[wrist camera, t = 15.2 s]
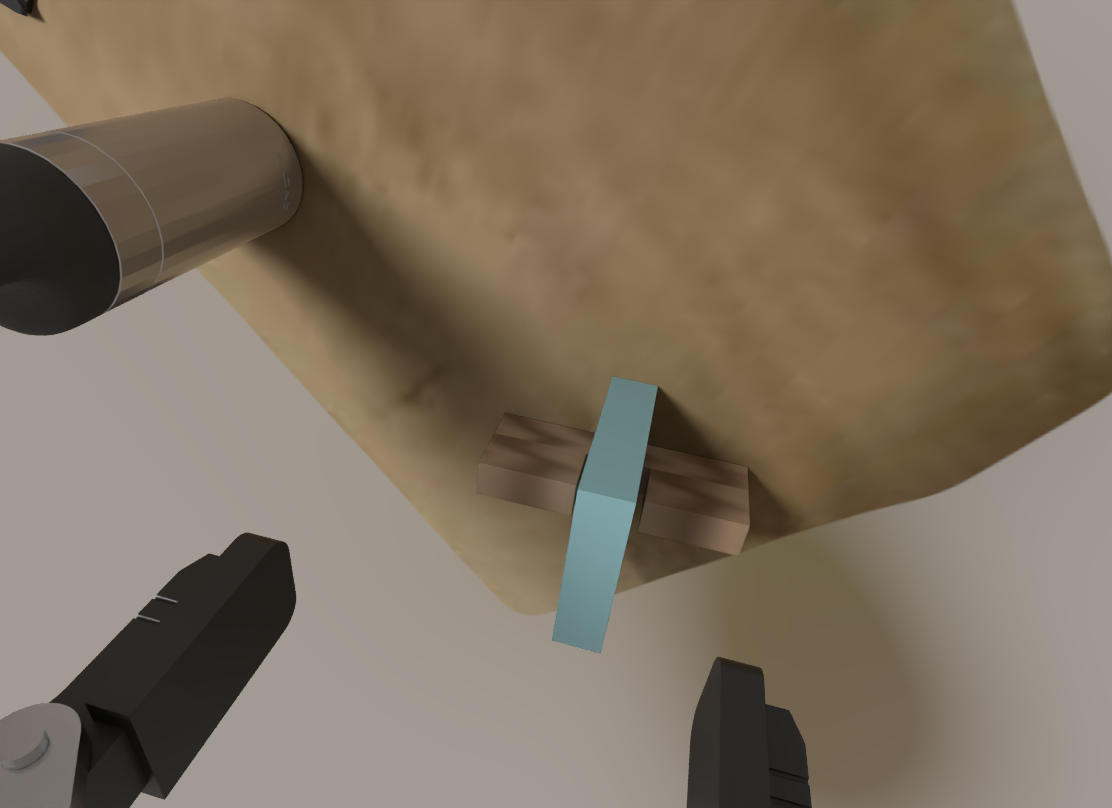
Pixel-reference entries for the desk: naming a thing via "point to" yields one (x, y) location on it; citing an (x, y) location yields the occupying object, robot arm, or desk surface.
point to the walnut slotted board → (666, 485)
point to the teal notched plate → (604, 514)
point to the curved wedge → (19, 6)
